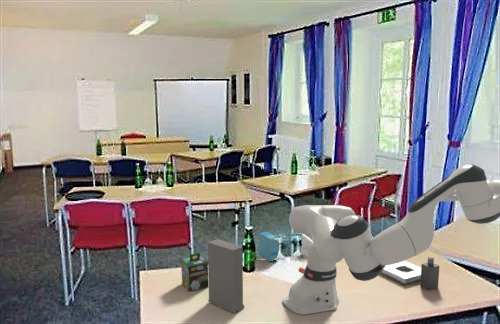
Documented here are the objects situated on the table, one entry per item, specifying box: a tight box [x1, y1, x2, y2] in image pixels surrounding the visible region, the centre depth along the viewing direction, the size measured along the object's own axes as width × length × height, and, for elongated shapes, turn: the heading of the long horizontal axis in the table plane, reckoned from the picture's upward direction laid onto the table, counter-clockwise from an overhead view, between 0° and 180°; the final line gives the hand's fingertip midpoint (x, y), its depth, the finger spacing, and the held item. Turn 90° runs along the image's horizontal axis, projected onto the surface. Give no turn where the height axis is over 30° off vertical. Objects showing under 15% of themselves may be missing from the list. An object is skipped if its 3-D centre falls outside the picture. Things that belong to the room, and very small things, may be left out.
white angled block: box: [300, 233, 313, 257], centre depth 238 cm, size 4×10×9 cm
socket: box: [379, 260, 421, 287], centre depth 212 cm, size 16×16×3 cm
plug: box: [419, 256, 440, 292], centre depth 199 cm, size 5×5×13 cm
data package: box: [258, 231, 279, 262], centre depth 233 cm, size 12×4×12 cm, turn 27°
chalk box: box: [180, 252, 209, 292], centre depth 201 cm, size 9×9×15 cm
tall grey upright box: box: [207, 238, 245, 314], centre depth 182 cm, size 14×6×25 cm, turn 48°
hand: (455, 193), depth 170 cm, fingers open, 8 cm apart
